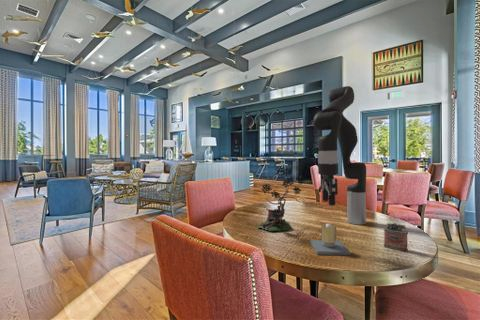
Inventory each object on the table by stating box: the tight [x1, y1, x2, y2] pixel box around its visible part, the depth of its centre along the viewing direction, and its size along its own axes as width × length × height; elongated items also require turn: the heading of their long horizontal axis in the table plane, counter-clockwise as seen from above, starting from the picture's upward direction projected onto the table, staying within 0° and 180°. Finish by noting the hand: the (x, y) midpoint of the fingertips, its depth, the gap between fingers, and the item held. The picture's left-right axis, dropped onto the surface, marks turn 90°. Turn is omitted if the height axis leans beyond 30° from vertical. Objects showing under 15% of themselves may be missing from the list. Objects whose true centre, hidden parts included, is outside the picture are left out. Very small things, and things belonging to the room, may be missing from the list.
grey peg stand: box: [309, 223, 351, 256], centre depth 93 cm, size 12×12×10 cm
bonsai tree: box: [257, 166, 306, 232], centre depth 125 cm, size 35×24×32 cm
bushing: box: [320, 223, 337, 243], centre depth 93 cm, size 5×5×6 cm
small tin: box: [383, 222, 409, 253], centre depth 92 cm, size 8×3×10 cm, turn 45°
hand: (328, 202), depth 93 cm, fingers open, 8 cm apart
